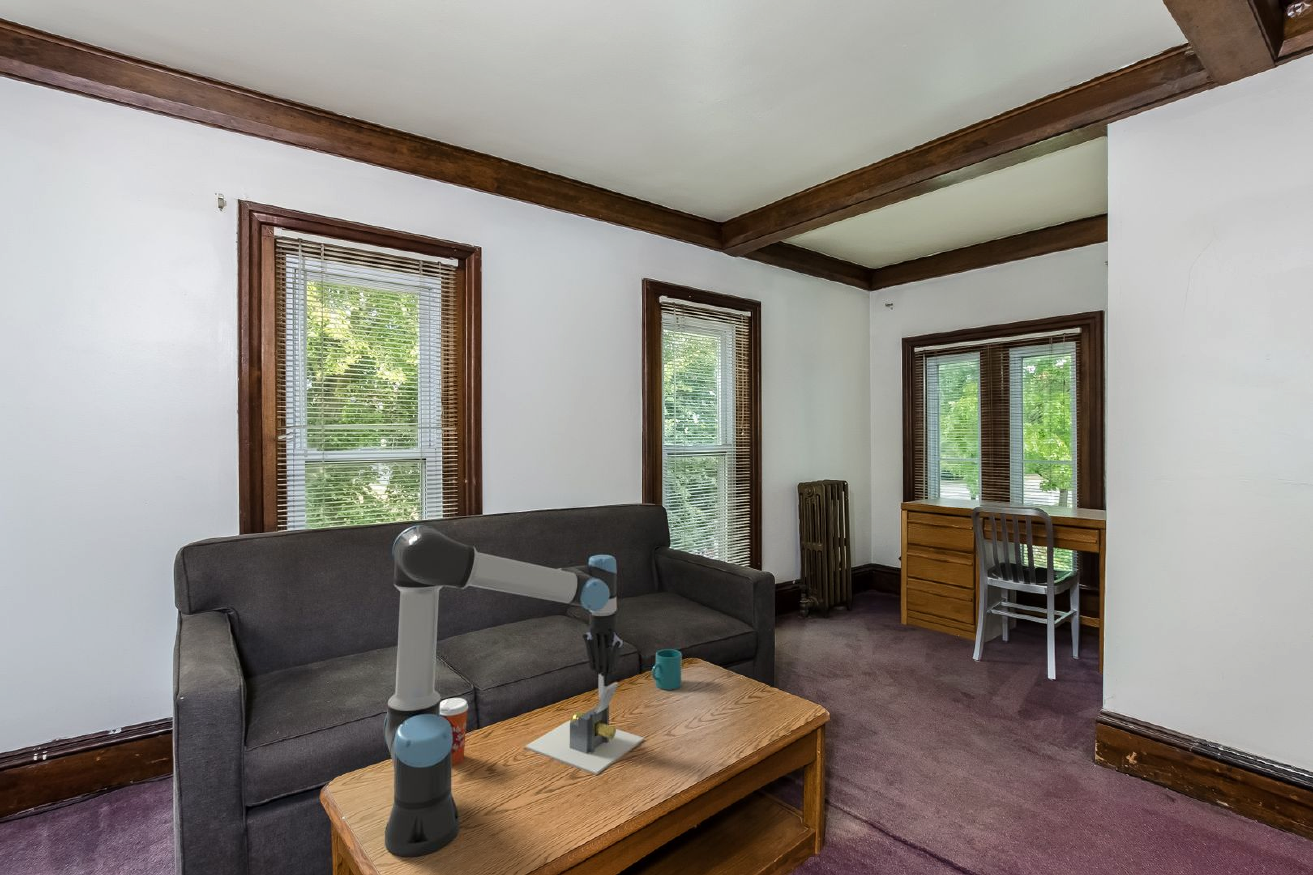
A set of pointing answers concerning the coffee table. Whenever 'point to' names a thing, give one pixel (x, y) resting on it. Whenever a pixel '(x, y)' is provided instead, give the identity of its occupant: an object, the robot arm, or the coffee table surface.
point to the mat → (559, 749)
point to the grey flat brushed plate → (606, 697)
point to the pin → (598, 727)
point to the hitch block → (588, 731)
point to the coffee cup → (456, 724)
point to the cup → (667, 669)
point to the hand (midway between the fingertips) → (603, 696)
